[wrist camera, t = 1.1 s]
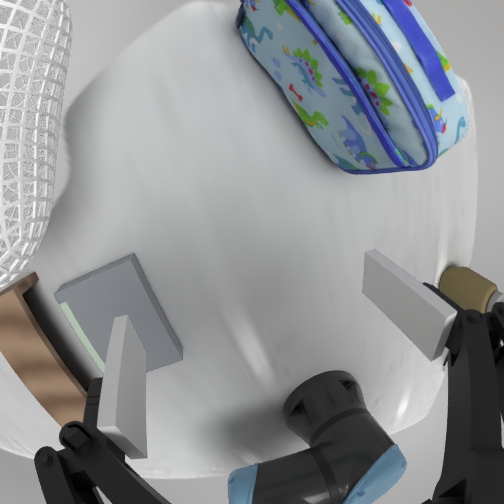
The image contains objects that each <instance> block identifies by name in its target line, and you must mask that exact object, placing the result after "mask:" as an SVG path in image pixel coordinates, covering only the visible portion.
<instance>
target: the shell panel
mask: <svg viewBox="0 0 504 504" xmlns="http://www.w3.org/2000/svg"><path fill="white" fill-rule="evenodd" d="M53 295H54V297H55V299H56V300H57V302H58V304H59V306H60V308H61V309H62V311H63V313H64V315H65V316H66V318H67V320H68V322H69V323H70V325H71V327H72V328H73V330H74V332H75V333H76V335H77V336H78V338H79V339H80V341H81V343H82V344H83V346H84V347H85V349H86V350H87V352H88V353H89V355H90V356H91V358H92V359H93V361H94V362H95V363H96V365H97V366H98V368H99V369H100V370H101V372H102V373H103V375H104V369H105V363H106V357H107V352H108V347H109V342H110V337H111V332H112V327H113V322H114V318H115V317H120V316H124V315H128V316H129V318H130V321H131V323H132V325H133V327H134V329H135V331H136V333H137V335H138V337H139V339H140V341H141V343H142V345H143V347H144V349H145V351H146V372H148V371H151V370H154V369H157V368H160V367H163V366H166V365H169V364H172V363H175V362H177V361H180V360H183V351H182V346H181V344H180V342H179V341H178V339H177V337H176V335H175V333H174V332H173V330H172V328H171V326H170V324H169V322H168V321H167V319H166V317H165V315H164V313H163V311H162V309H161V307H160V305H159V303H158V301H157V299H156V297H155V295H154V293H153V291H152V289H151V287H150V285H149V283H148V281H147V279H146V277H145V275H144V273H143V271H142V268H141V266H140V264H139V262H138V260H137V258H136V255H135V253H133V254H131V255H129V256H126V257H124V258H122V259H119V260H117V261H115V262H113V263H110V264H108V265H106V266H104V267H101V268H99V269H97V270H95V271H92V272H90V273H88V274H86V275H84V276H81V277H79V278H77V279H75V280H73V281H71V282H69V283H66V284H64V285H62V286H61V287H60V288H59V289H58V290H57V291H56V292H55V293H54V294H53Z"/></svg>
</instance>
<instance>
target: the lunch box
mask: <svg viewBox="0 0 504 504" xmlns="http://www.w3.org/2000/svg"><path fill="white" fill-rule="evenodd" d="M240 1H241V2H242V3H241V6H240V8H239V11H238V14H237V17H236V22H235V24H236V27H237V29H238V28H240V31H241V35H242V39H243V41H244V43H245V45H246V46H247V48H248V49H249V50H250V52H251V53H252V54H253V56H254V57H255V58H256V59H257V60H258V61H259V62H260V64H261V65H262V66H263V67H264V68H265V69H266V70H267V72H268V73H269V74H270V75H271V77H272V78H273V79H274V81H275V82H276V83H277V84H278V86H279V87H280V89H281V90H282V91H283V92H284V94H285V95H286V97H287V99H288V101H289V102H290V104H291V105H292V107H293V108H294V109H295V111H296V112H297V113H298V115H299V116H300V118H301V119H302V121H303V123H304V124H305V126H306V128H307V129H308V131H309V132H310V134H311V135H312V137H313V138H314V140H315V141H316V142H317V144H318V145H319V146H320V147H321V149H322V150H323V151H324V153H325V154H326V155H327V156H328V157H329V159H330V160H331V161H332V162H334V163H335V164H336V165H337V166H338V167H339V168H341V169H342V170H344V171H345V172H347V173H350V174H355V175H357V174H380V173H391V172H401V171H417V170H423V169H427V168H429V167H431V166H432V165H433V164H434V163H435V161H436V159H437V158H438V157H439V156H441V155H442V154H443V153H445V152H446V151H447V150H449V149H450V148H451V147H452V146H453V145H455V144H456V143H458V142H459V141H460V140H461V139H462V138H463V137H464V136H465V135H466V133H467V131H468V125H469V117H468V110H467V106H466V102H465V99H464V96H463V93H462V91H461V88H460V86H459V83H458V81H457V79H456V77H455V74H454V72H453V70H452V68H451V66H450V64H449V62H448V60H447V58H446V56H445V54H444V52H443V51H442V48H441V47H440V45H439V43H438V42H437V40H436V38H435V37H434V35H433V33H432V32H431V30H430V29H429V27H428V25H427V24H426V23H425V21H424V19H423V18H422V16H421V15H420V14H419V12H418V11H417V9H416V8H415V6H414V5H413V4H412V2H411V1H410V0H240Z"/></svg>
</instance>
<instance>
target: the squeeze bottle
mask: <svg viewBox="0 0 504 504" xmlns="http://www.w3.org/2000/svg"><path fill="white" fill-rule="evenodd" d="M439 289H440V292H442V293H444V294H445V295H446V296H448V297H449V298H450V299H451V300H453V301H454V302H455V303H456V304H458V305H459V306H460V307H461V308H463V309H464V310H467V309H475V310H478V311H480V312H481V313H486V312H490V311H491V309H492V307H493V305H494V303H496V302H504V294H503V293H501V292H499V291H498V290H497V286H496V284H494V283H493V282H491V281H489V280H488V279H486V278H484V277H483V276H481V275H479V274H477V273H476V272H474V271H472V270H471V269H469V268H467V267H450V268H448V269H447V270H446V271H445V272H444V273H443V275H442V277H441V280H440V285H439Z"/></svg>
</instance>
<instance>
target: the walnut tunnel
mask: <svg viewBox="0 0 504 504" xmlns="http://www.w3.org/2000/svg"><path fill="white" fill-rule="evenodd" d="M38 280H39V279H38V277H37V275H36V272H34V273H32V274H30V275H28V276H27V277H25V278H23V279H21V280H20V281H18V282H16V283H14V284H13V285H11V286H9V287H8V288H6V289H4V290H3V291H1V292H0V351H1V352H2V354H3V355H4V357H5V358H6V360H7V361H8V363H9V364H10V366H11V367H12V368H13V370H14V371H15V373H16V374H17V375H18V377H19V378H20V379H21V381H22V382H23V383H24V385H25V386H26V387H27V388H28V390H29V391H30V392H31V393H32V395H33V396H34V397H35V398H36V399H37V401H38V402H39V403H40V404H41V405H42V406H43V407H44V409H45V410H46V411H47V412H48V413H49V414H50V415H51V416H52V417H53V419H54V420H55V421H56V422H57V423H58V424H59V425H60V426H61V427H63V426H64V425H65V424H67V423H68V422H70V421H80V422H82V423H83V417H84V410H85V406H86V399H87V392H86V391H85V390H84V389H83V387H82V386H81V385H80V384H79V382H78V381H77V380H76V379H75V377H74V376H73V375H72V373H71V372H70V371H69V369H68V368H67V367H66V365H65V364H64V362H63V361H62V360H61V358H60V357H59V355H58V354H57V352H56V351H55V349H54V348H53V346H52V345H51V343H50V342H49V340H48V339H47V337H46V336H45V334H44V333H43V331H42V329H41V328H40V326H39V324H38V323H37V321H36V319H35V318H34V316H33V314H32V312H31V311H30V309H29V307H28V305H27V304H26V302H25V300H24V298H23V296H22V294H23V293H24V292H26V291H27V290H28V289H29V288H30V287H31V286H32V285H33V284H35V283H36V282H37V281H38Z"/></svg>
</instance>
